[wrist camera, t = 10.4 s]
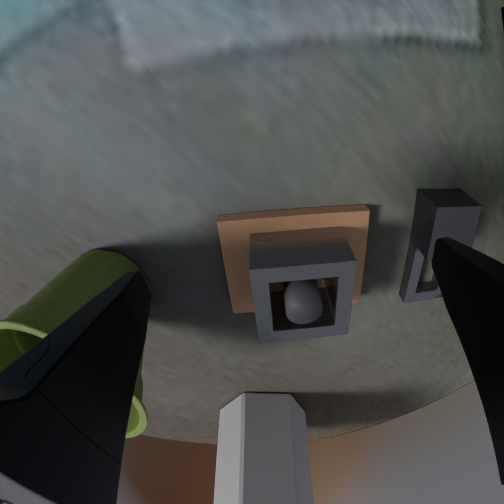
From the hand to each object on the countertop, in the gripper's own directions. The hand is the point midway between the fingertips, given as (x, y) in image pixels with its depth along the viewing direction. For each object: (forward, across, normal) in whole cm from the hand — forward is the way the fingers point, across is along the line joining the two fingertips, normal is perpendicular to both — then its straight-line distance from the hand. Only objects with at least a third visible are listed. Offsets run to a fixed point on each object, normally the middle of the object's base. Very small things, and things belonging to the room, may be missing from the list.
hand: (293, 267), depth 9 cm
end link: (+11, -1, +8) cm, 13 cm away
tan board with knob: (+12, -1, +8) cm, 14 cm away
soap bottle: (+12, +4, +30) cm, 32 cm away
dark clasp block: (+12, -12, +8) cm, 19 cm away
